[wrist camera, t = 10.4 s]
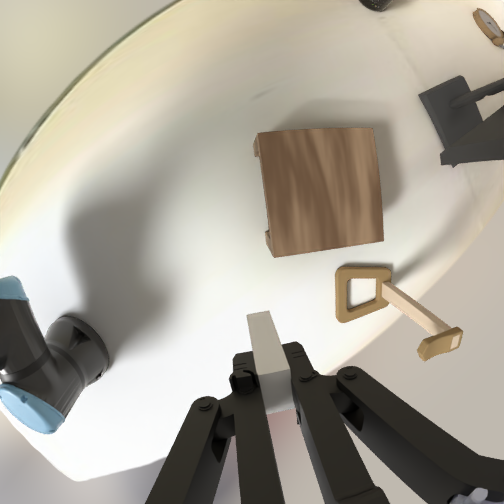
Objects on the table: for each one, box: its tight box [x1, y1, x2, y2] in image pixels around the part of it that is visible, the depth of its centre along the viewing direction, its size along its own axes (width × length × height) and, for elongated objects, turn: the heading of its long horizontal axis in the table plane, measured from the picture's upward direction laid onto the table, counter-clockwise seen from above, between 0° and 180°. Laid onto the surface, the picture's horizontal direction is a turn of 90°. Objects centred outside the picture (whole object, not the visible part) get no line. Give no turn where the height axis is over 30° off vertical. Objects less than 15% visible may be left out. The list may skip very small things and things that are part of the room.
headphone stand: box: [335, 267, 463, 361], centre depth 37 cm, size 10×11×22 cm
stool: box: [253, 128, 384, 258], centre depth 38 cm, size 9×16×16 cm
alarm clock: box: [473, 8, 504, 49], centre depth 32 cm, size 11×5×15 cm
